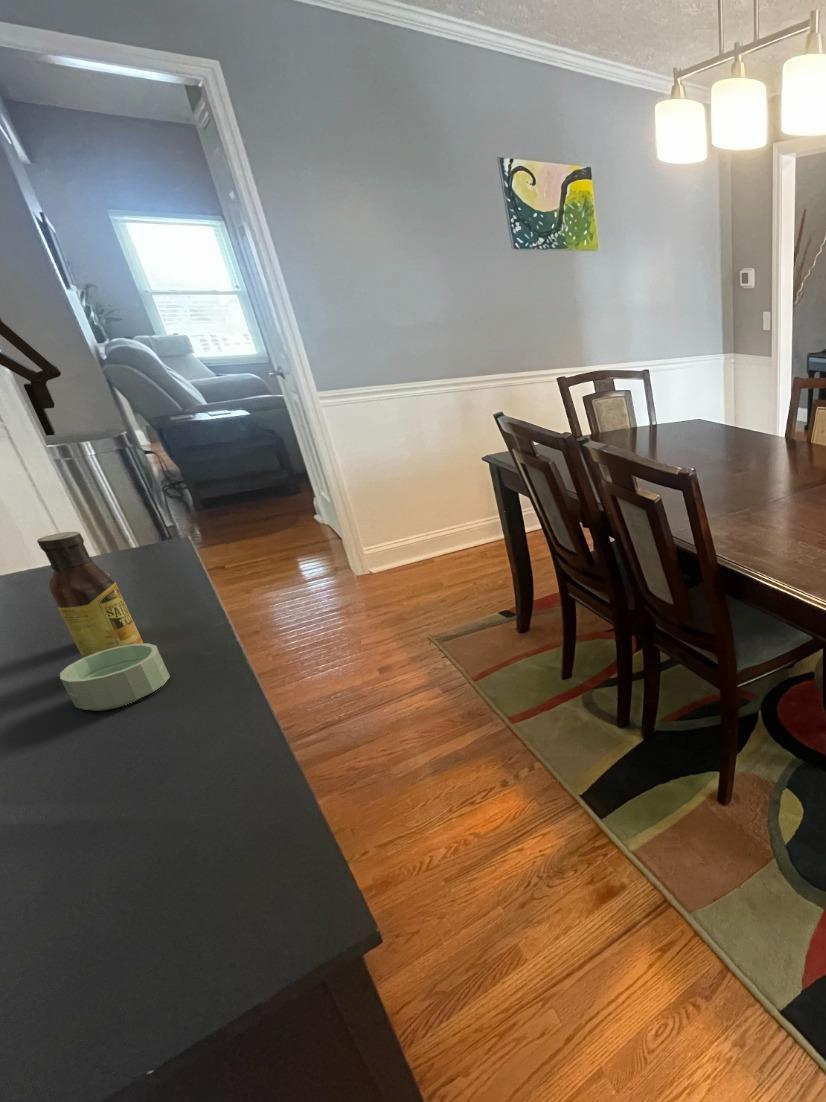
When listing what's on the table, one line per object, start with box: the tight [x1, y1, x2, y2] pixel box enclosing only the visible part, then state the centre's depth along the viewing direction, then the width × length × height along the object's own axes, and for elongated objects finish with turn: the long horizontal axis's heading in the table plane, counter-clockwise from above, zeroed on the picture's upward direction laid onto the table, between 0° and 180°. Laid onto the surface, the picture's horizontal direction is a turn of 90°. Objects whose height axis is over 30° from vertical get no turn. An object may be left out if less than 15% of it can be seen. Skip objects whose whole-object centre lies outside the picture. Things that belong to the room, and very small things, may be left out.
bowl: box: [59, 642, 171, 712], centre depth 80 cm, size 9×9×5 cm
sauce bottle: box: [36, 531, 144, 658], centre depth 84 cm, size 6×6×20 cm
